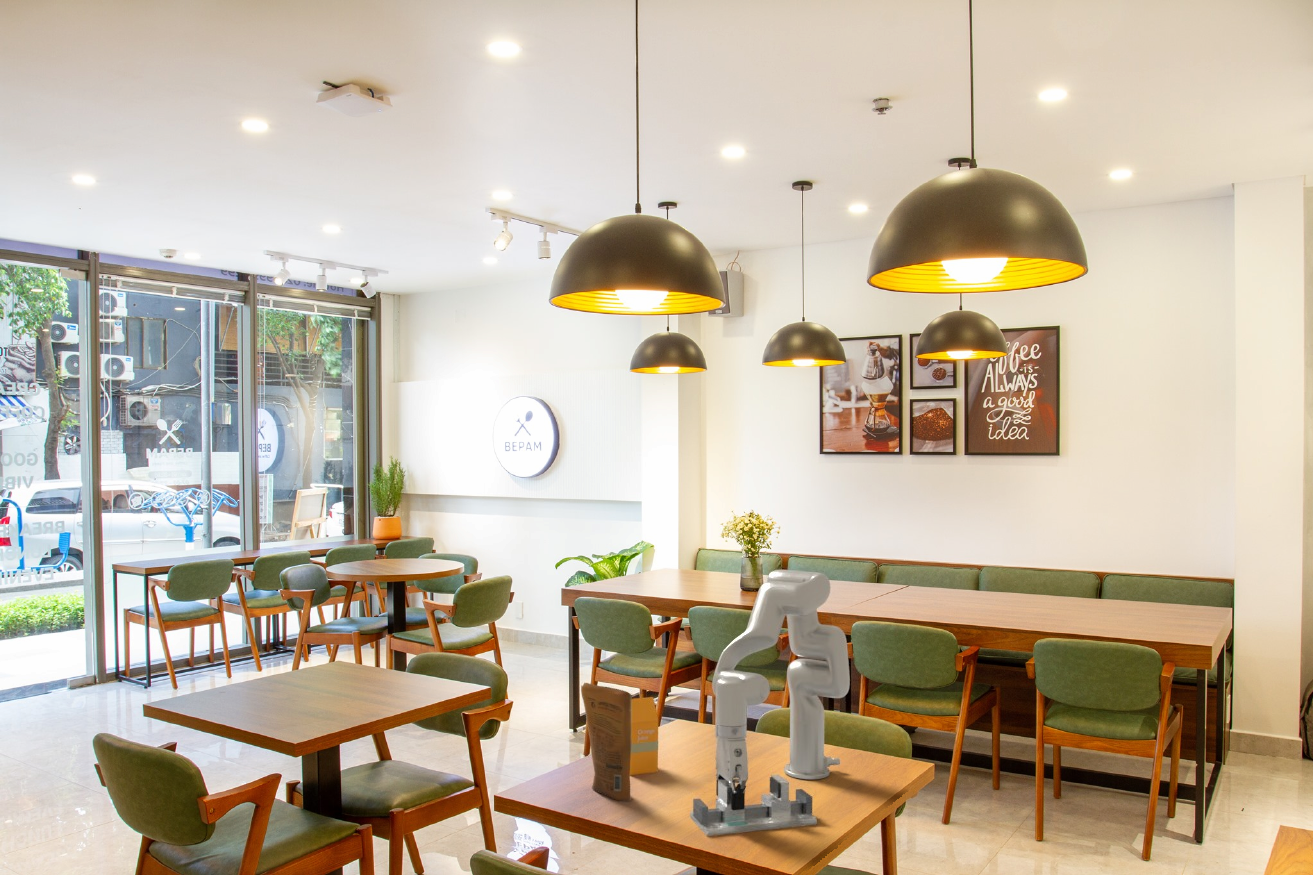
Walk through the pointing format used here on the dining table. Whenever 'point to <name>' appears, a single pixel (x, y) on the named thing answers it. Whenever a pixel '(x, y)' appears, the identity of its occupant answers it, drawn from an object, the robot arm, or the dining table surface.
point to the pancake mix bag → (609, 738)
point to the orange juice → (644, 736)
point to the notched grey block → (727, 802)
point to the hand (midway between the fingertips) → (730, 802)
